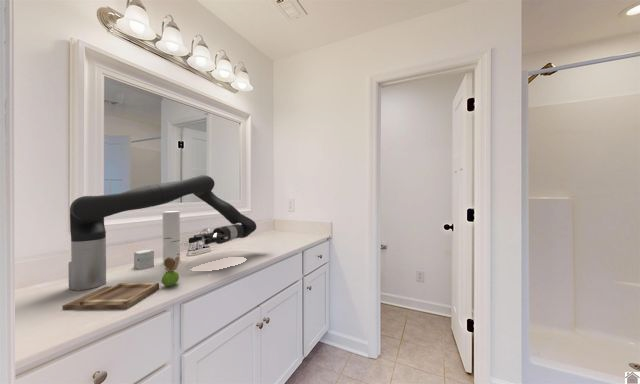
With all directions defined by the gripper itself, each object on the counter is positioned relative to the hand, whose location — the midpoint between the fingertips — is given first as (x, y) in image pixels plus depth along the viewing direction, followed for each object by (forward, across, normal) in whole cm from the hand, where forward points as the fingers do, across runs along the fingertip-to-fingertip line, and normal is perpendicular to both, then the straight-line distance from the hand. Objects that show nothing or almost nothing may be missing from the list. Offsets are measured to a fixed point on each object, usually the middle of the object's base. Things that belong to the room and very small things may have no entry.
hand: (197, 241), depth 97 cm
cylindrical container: (-10, -27, +14) cm, 32 cm away
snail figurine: (+12, 0, +14) cm, 18 cm away
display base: (+25, -8, +14) cm, 30 cm away
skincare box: (-1, -33, +14) cm, 36 cm away
